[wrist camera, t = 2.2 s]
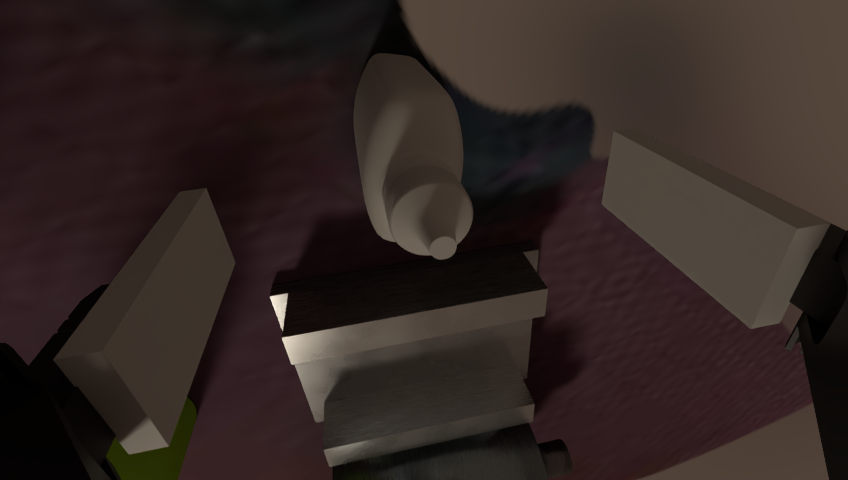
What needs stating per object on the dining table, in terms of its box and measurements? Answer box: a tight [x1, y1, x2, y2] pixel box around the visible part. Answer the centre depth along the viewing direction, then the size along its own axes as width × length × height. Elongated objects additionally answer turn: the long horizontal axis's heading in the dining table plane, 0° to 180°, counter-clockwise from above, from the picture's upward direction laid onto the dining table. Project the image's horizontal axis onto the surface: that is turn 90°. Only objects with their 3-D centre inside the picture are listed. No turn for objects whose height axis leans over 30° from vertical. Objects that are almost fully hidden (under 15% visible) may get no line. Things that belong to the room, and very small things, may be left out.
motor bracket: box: [270, 241, 572, 480], centre depth 28 cm, size 22×18×9 cm
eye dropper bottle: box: [354, 53, 473, 260], centre depth 15 cm, size 4×6×12 cm
